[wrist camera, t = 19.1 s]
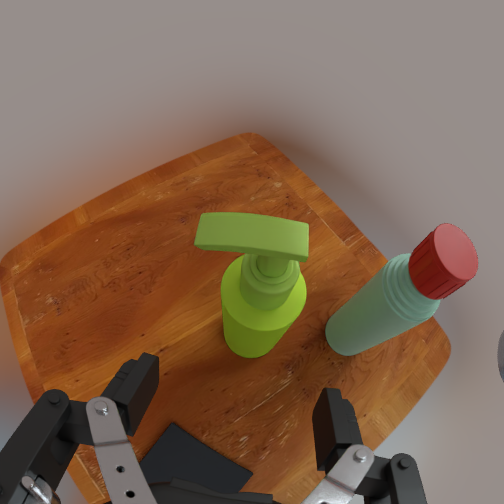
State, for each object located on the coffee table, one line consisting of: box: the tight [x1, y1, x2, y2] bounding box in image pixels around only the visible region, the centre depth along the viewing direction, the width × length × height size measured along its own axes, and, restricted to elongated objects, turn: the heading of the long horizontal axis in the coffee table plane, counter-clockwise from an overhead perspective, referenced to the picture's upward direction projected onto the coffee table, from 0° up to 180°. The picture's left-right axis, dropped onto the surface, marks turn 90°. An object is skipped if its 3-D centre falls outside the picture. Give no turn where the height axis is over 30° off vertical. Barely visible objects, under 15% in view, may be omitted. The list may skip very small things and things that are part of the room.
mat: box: [139, 423, 253, 493], centre depth 22 cm, size 10×10×1 cm
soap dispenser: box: [194, 212, 308, 358], centre depth 22 cm, size 6×7×20 cm
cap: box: [408, 223, 478, 300], centre depth 16 cm, size 4×4×3 cm
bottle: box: [325, 254, 441, 356], centre depth 23 cm, size 6×6×19 cm
